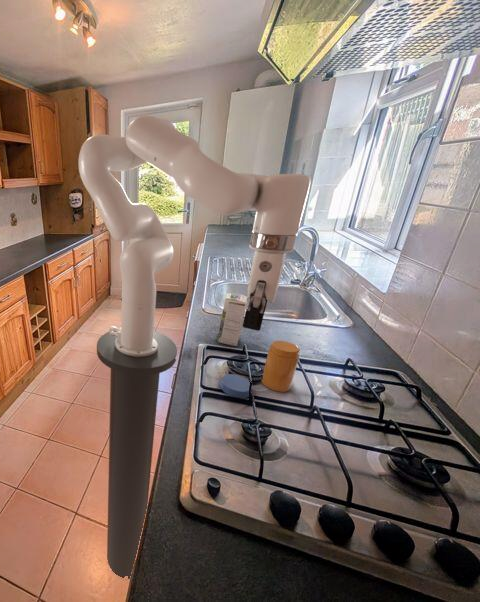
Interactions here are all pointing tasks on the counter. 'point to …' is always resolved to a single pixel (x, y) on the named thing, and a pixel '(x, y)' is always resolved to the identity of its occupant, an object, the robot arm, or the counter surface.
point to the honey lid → (235, 385)
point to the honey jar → (280, 366)
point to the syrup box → (232, 319)
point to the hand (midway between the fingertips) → (253, 319)
